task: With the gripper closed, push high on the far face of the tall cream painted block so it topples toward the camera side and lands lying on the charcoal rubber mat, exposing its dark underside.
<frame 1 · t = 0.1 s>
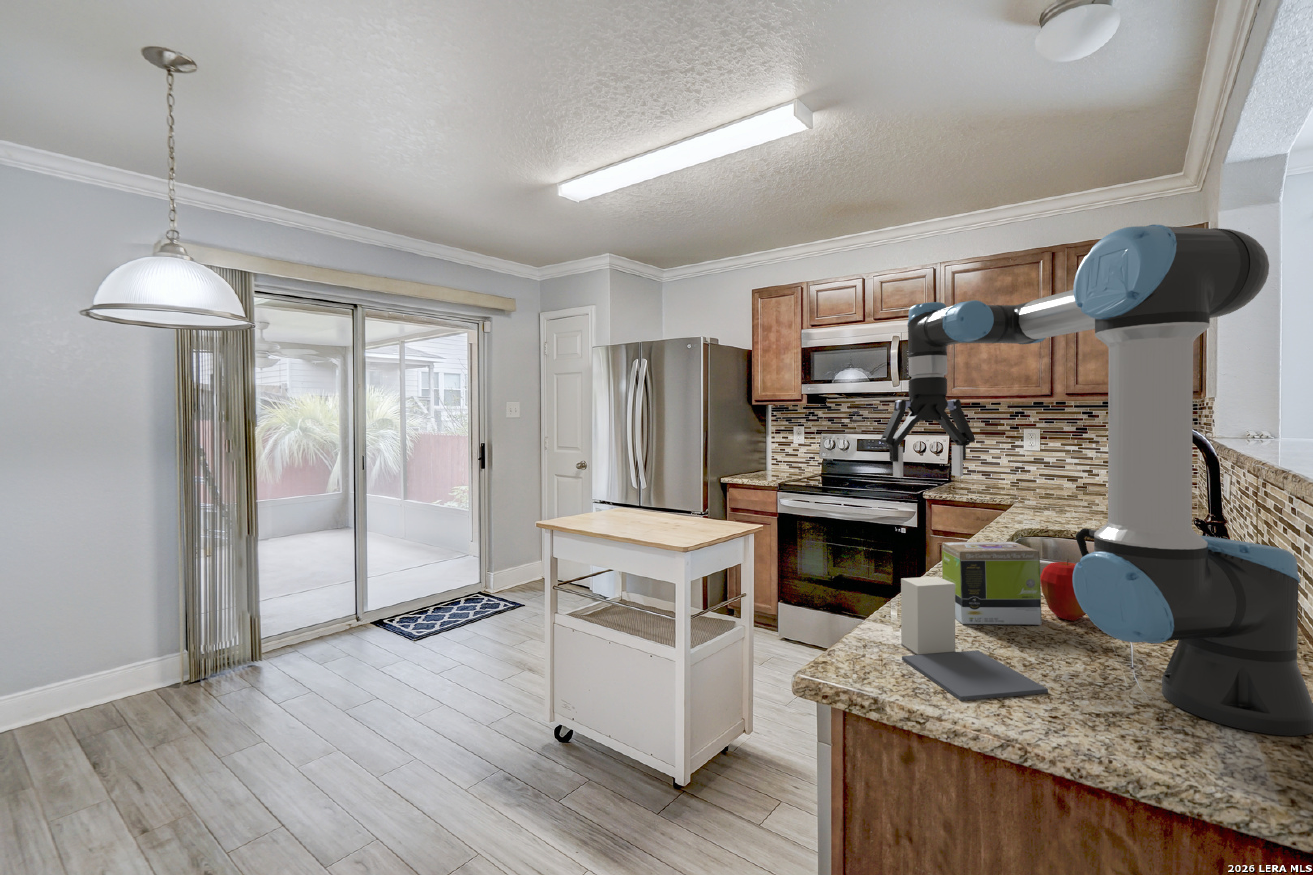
hand: (927, 476, 127), 28 cm above the worktop, fingers open, 13 cm apart
mat: (970, 675, 93), on the worktop
tea box: (989, 618, 120), on the worktop
cream block: (927, 649, 104), on the worktop
apple: (1067, 618, 119), on the worktop
coffeepot: (1114, 606, 127), on the worktop
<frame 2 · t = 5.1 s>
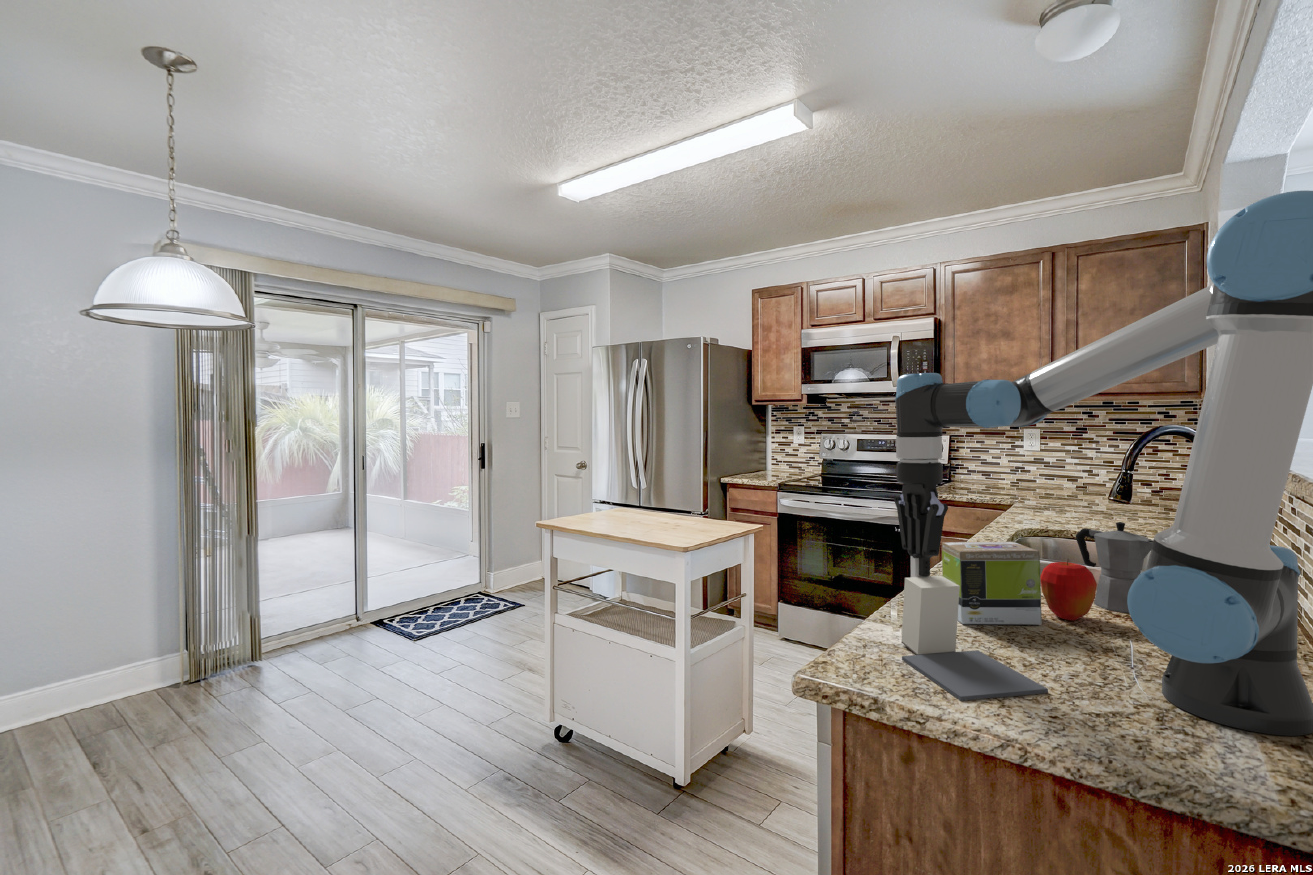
hand: (920, 592, 106), 9 cm above the worktop, fingers closed
cream block: (927, 647, 104), on the worktop, tilted 6°
everything else where it was.
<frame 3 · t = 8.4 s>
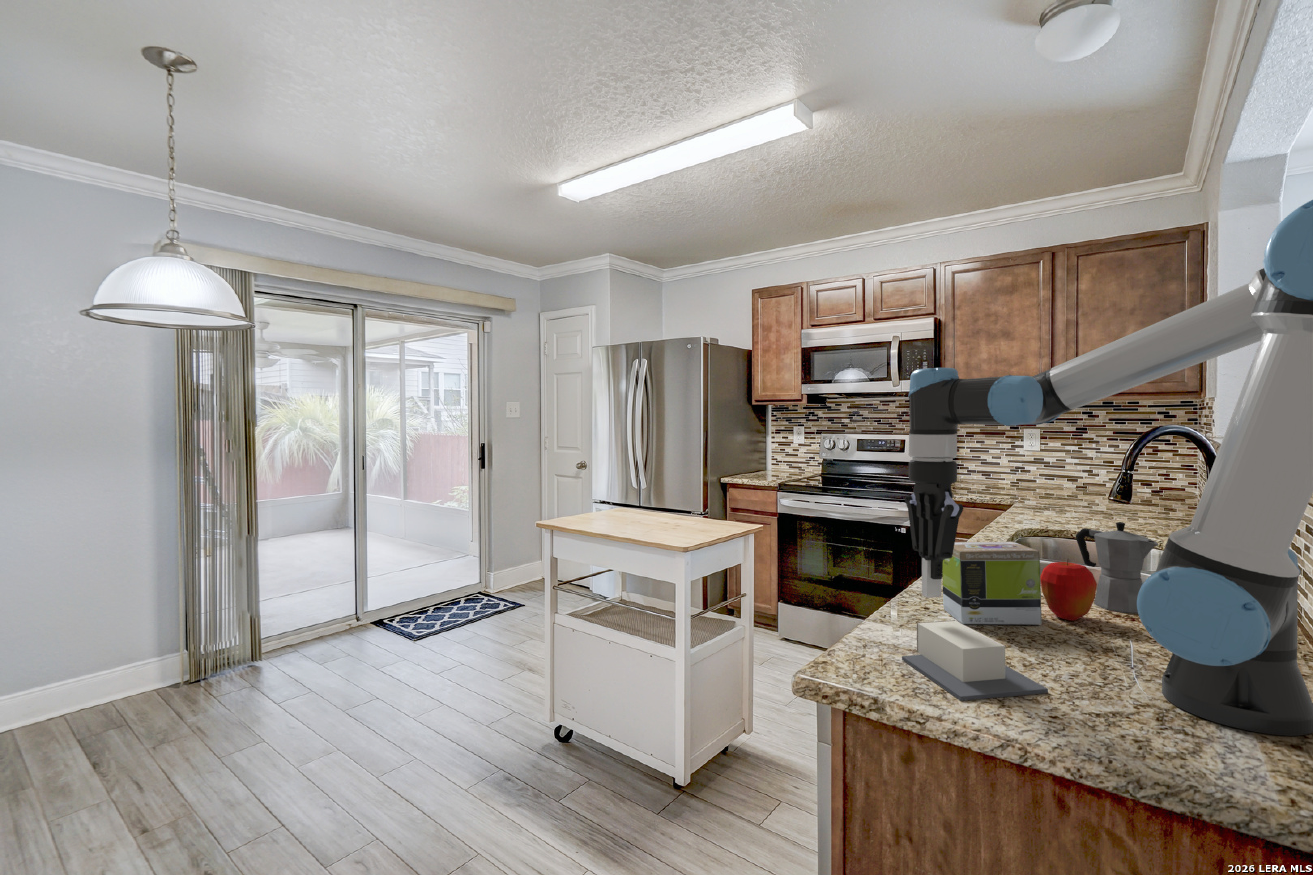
hand: (931, 595, 102), 10 cm above the worktop, fingers closed
cream block: (935, 636, 102), point 3 cm above the worktop, tilted 90°, touching mat
everything else where it was.
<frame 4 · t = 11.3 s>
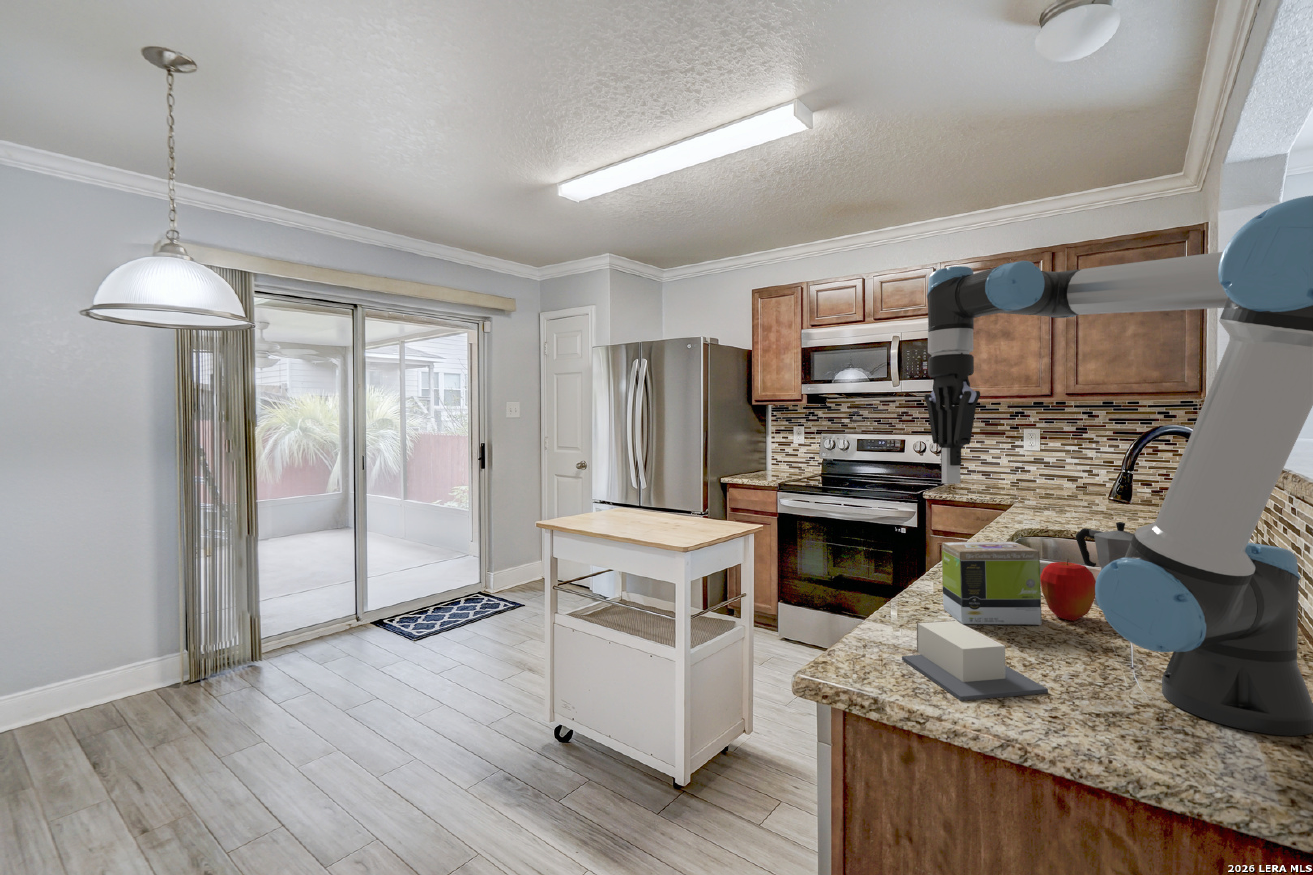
hand: (950, 483, 109), 28 cm above the worktop, fingers closed
nothing on the worktop moved.
at the end: cream block tilted 90°; cream block inside the target area (5.2 cm from its centre), point 3.1 cm above the worktop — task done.
